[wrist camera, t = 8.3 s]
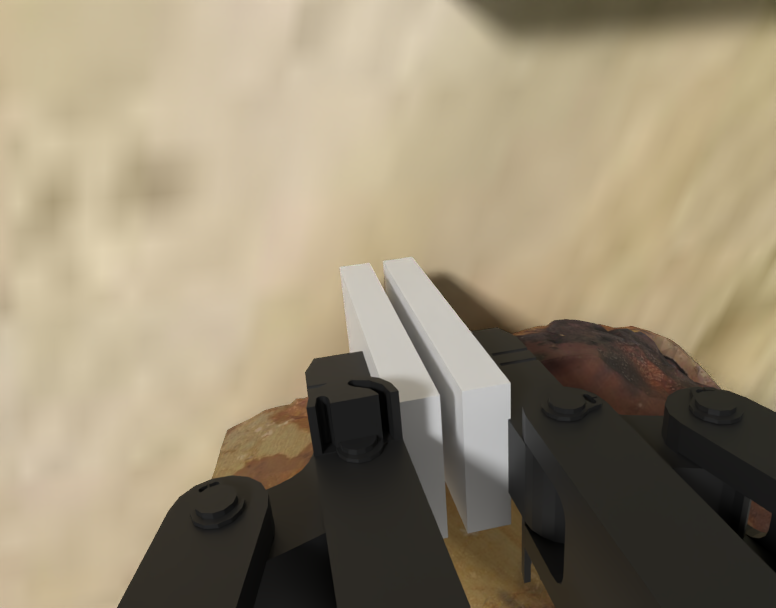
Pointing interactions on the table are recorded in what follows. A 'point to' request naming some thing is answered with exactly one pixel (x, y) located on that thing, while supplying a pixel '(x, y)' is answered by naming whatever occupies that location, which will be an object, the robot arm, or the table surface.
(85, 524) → the table surface
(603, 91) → the table surface
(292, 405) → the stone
